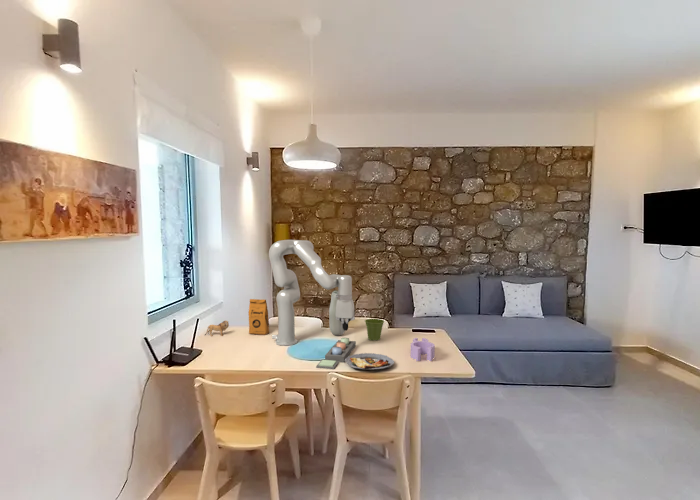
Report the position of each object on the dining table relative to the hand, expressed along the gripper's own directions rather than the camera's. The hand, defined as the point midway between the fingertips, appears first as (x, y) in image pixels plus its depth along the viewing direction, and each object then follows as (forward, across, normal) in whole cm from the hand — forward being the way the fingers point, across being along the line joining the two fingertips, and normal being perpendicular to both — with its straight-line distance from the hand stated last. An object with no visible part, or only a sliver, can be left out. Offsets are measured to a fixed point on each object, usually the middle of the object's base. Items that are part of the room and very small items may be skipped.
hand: (345, 329), depth 243 cm
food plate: (+11, +18, -23) cm, 31 cm away
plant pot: (+11, +13, +22) cm, 28 cm away
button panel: (+11, 0, -9) cm, 14 cm away
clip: (+11, +42, -3) cm, 44 cm away
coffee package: (+10, -60, +18) cm, 64 cm away
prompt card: (+11, -2, -29) cm, 31 cm away
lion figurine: (+10, -84, +9) cm, 85 cm away
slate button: (+9, 0, -18) cm, 20 cm away
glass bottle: (+11, -11, +26) cm, 30 cm away
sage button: (+9, 0, 0) cm, 9 cm away
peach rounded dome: (+9, 0, -9) cm, 13 cm away
